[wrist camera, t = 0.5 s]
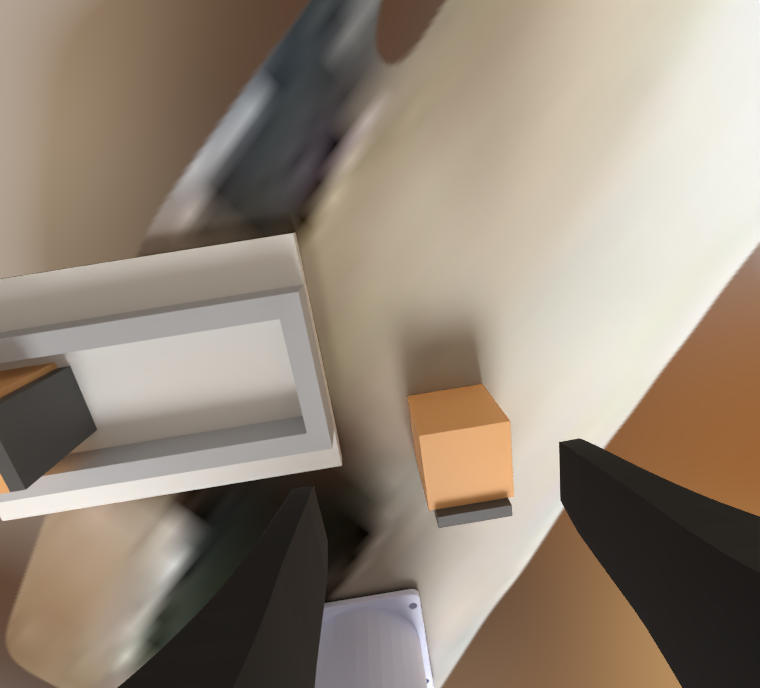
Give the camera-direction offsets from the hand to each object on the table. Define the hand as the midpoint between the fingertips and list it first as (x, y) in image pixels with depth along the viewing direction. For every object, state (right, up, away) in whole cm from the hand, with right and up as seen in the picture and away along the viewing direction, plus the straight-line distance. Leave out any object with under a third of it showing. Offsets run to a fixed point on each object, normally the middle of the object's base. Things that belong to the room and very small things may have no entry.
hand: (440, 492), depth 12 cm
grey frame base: (-14, +2, +8) cm, 16 cm away
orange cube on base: (+2, 0, +10) cm, 10 cm away
